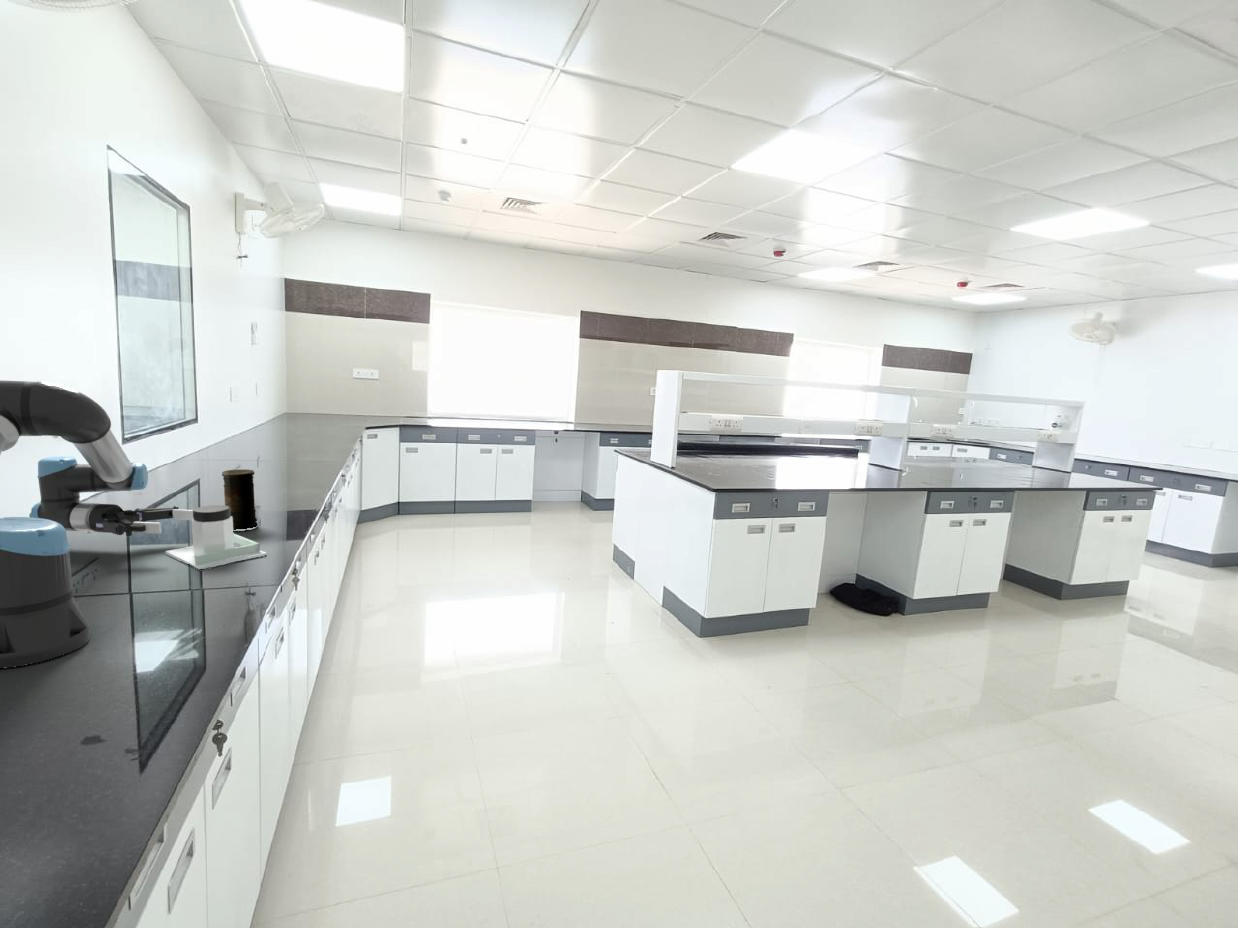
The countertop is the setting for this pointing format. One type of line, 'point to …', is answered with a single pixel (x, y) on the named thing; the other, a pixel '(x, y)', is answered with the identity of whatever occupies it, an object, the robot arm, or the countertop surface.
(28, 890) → the countertop surface
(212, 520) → the jar
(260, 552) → the holder
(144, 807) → the countertop surface
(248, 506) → the container
